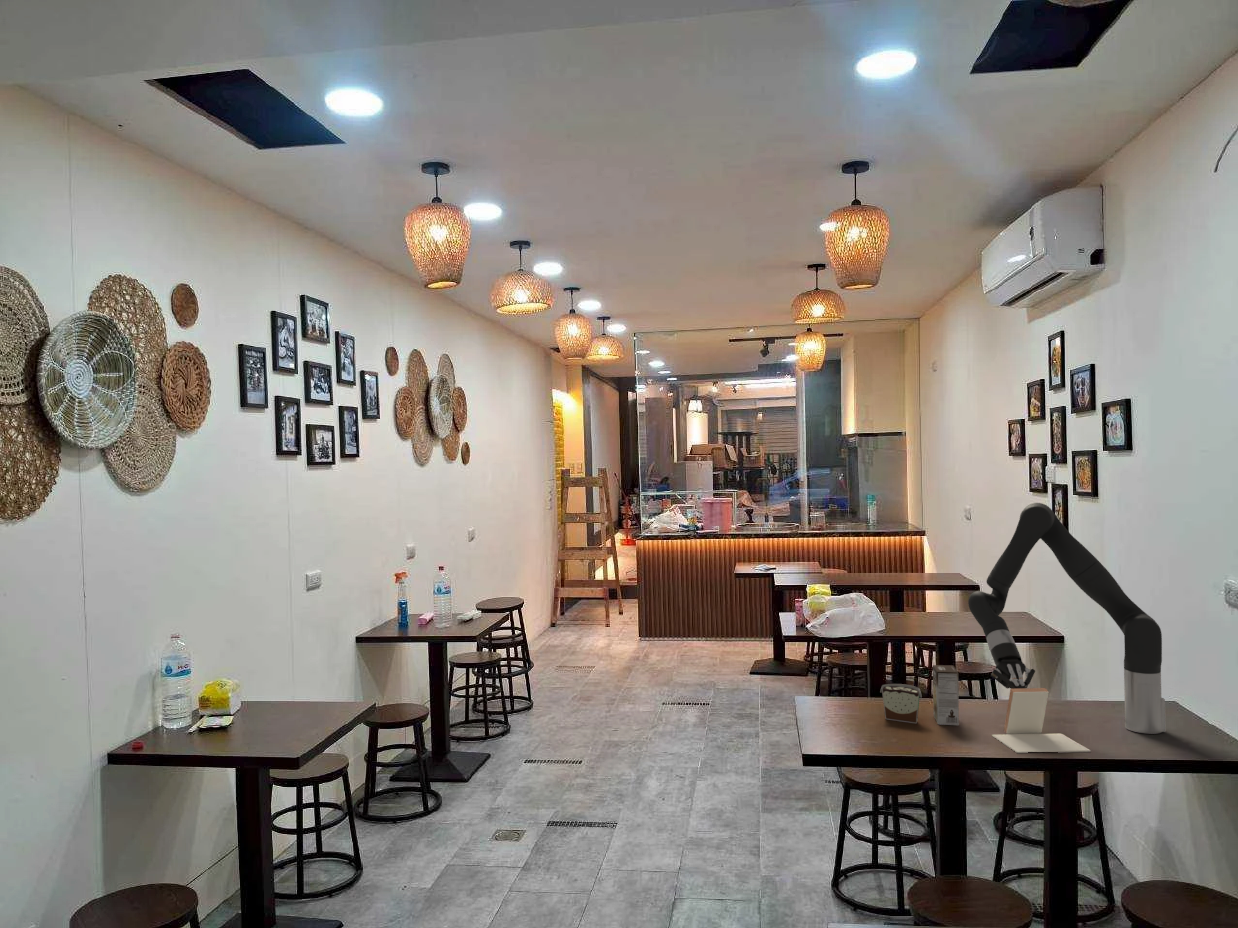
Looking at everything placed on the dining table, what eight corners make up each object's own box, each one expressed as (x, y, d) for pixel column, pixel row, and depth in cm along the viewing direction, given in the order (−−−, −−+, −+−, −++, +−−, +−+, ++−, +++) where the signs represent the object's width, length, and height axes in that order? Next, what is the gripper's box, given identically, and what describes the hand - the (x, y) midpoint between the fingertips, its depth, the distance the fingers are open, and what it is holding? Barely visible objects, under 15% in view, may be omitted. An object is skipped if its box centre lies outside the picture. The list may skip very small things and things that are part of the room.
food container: (926, 719, 263) (926, 686, 263) (921, 724, 258) (921, 690, 258) (885, 713, 270) (885, 681, 270) (880, 718, 264) (879, 685, 264)
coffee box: (932, 716, 266) (931, 664, 266) (954, 717, 265) (953, 664, 265) (937, 724, 257) (936, 671, 257) (960, 725, 256) (959, 671, 256)
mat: (1061, 734, 246) (1061, 733, 246) (1090, 751, 231) (1090, 750, 231) (991, 735, 245) (991, 734, 245) (1016, 753, 230) (1016, 751, 230)
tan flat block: (1037, 729, 249) (1045, 687, 244) (1041, 733, 247) (1048, 692, 243) (1003, 729, 249) (1010, 688, 244) (1006, 734, 247) (1013, 692, 242)
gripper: (985, 641, 257) (1004, 693, 244) (1029, 641, 257) (1050, 692, 245) (977, 655, 262) (996, 706, 250) (1020, 655, 262) (1041, 706, 250)
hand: (1023, 699), depth 247 cm, fingers closed
